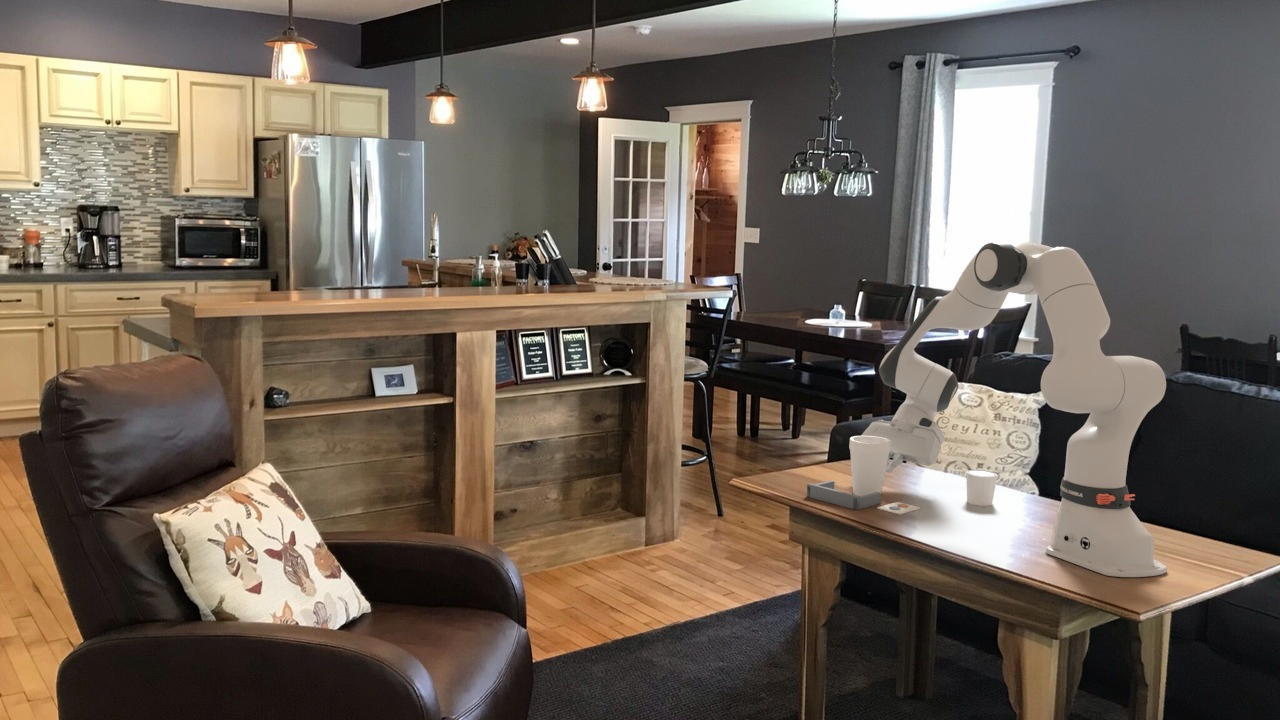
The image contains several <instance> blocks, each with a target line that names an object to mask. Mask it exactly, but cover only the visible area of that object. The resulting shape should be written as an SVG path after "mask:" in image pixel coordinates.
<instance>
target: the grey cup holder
mask: <svg viewBox="0 0 1280 720" xmlns="http://www.w3.org/2000/svg"><path fill="white" fill-rule="evenodd" d="M835 482H836V481H835V480H827V481H823V482H818V483H807V484H806V497H807V498H810V499H815V500H818V501H821V502H822V501H823V502H826V503H829V504H833V505H837V506H840V507H843V508H848V509H851V510H855V511H857V510H863V509H865V508H869V507H874V506H877V505H880V504H881V499H882V496H881V495H882V492H881V493H879V492H875V493H871V494H868V495H864V496H858V495H855V494H853V493H850V492H845V491H842V490H837V489H835Z"/></svg>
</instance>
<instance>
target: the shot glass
mask: <svg viewBox="0 0 1280 720" xmlns="http://www.w3.org/2000/svg"><path fill="white" fill-rule="evenodd" d="M997 480H998V474H997V473H995V472H992V471H990V470H989V471H988V470H984V469H983V470H980V469H971V470H967V471H966V502H967V503H968V504H970V505H973V506H979V507H982V506H983V507H984V506H985V507H987V506H992V505H993V502H994V494H995V491H996V483H997Z"/></svg>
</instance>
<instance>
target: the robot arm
mask: <svg viewBox="0 0 1280 720" xmlns="http://www.w3.org/2000/svg"><path fill="white" fill-rule="evenodd" d="M1009 293H1014V294H1019V295H1029V296H1030V295H1031V296H1032V295H1033V296H1034V295H1037V297H1038V299H1039V303H1040V306H1041V307H1042V311H1043V313H1044V316H1045V318H1046V322H1047V325H1048V328H1049V331H1050V334H1051V337H1052V342H1053V352H1052V353H1053V354H1052V358H1051V361H1050V362H1049V363H1048V365H1046V367H1045V369H1044V370H1043V372H1042V375H1041V379H1040V391H1041V394H1042V397H1043V399H1044V400H1045V402H1046V404H1047V405H1048V406H1049V407H1051V408H1052V409H1054V410H1059V411H1063V412H1067V413H1073V414H1089V416H1088V418H1087V419H1086V421H1085V423H1084V425H1083V426H1081V428H1080V429H1078V430H1077V431H1076V432H1074V433H1073V434H1071V436H1070V437H1069V439H1068V441H1067V446H1066V454H1065V455H1066V456H1065V468H1064V476H1063V477H1062V479H1061V483H1060V487H1059V488H1060V491H1059V492H1060V494H1059V495H1060V497H1061V501H1060V504H1059V507H1058V509H1057V511H1056V513H1055V518H1054V523H1053V528H1052V534H1051V537H1050V538H1051V539H1050V542H1049V545H1048V546H1046V549H1045V553H1046V554H1048V555H1050V556H1052V557H1056V558H1059V559H1060V560H1064V561H1066V562H1069V563H1072V564H1075V565H1077V566H1080V567H1083V568H1084V569H1085V568H1086V569H1088V570H1091V571H1094V572H1096V573H1098V574H1102V575H1104V576H1109V577H1118V578H1119V577H1120V578H1142V577H1143V578H1144V577H1145V578H1147V577H1153V576H1161V575H1165V574H1166V573H1167V572H1168V567H1167V566H1166V565H1165V564H1163V563H1162V562H1160V561H1158V560H1156V559H1155V544H1154V538H1153V536H1152V535H1151V533H1150V531H1149V530H1148V529H1146V527H1145V525H1143V523H1142V521H1140V519H1139V518H1138V517H1137V515H1136V514H1135V512H1134V511H1133V510H1132V508H1131V507H1130V506H1131V503H1132V502H1131V501H1135V498H1132V497H1136V495H1135V494H1134V493H1132V494H1130V493H1129V489H1128V485H1127V484H1126V482H1127V481H1126V480H1127V479H1126V477H1127V471H1128V463H1129V458H1130V457H1129V455H1130V450H1131V446H1132V443H1133V441H1134V438H1135V435H1136V433H1137V431H1138V429H1139V427H1140V425H1141V423H1142V421H1143V420H1144V419H1145V417H1146V415H1147V414H1148V412H1150V411H1151V410H1152V409H1153V408H1154V407H1156V405H1158V404H1159V403H1160V402H1161V401H1162V400H1163V398H1164V396H1165V393H1166V389H1167V380H1166V375H1165V372H1164V369H1162V367H1161V366H1160V364H1158V363H1157V362H1156V361H1153V360H1151V359H1148V358H1147V359H1146V358H1143V357H1139V356H1133V355H1105V353H1103V351H1102V349H1101V343H1100V342H1101V339H1102V338H1104V336H1105V335H1106V334H1107V333H1108V331H1109V329H1110V326H1111V317H1110V314H1109V312H1108V310H1107V308H1106V305H1105V302H1104V301H1103V298H1102V295H1101V293H1100V290H1099V288H1098V285H1097V283H1096V281H1095V278H1094V276H1093V275H1092V272H1091V271H1090V269H1089V268H1088V266H1087V264H1086V262H1085V261H1084V259H1083V258H1082V256H1081V255H1080V254H1079V253H1078V252H1077V251H1076V250H1075V249H1073V248H1071V247H1067V246H1055V245H1045V244H1042V243H1041V244H1040V243H1034V242H1029V241H1006V240H997V241H992V242H988V243H986V244H984V245H983V246H982V247H981V248H980V249H979V250H978V251H977V252H976V254H975V255H974V256H973V257H972V258H971V260H970V261H969V263H968V264H967V266H966V267H965V269H963V271H962V272H961V274H960V277H959V278H958V279H957V282H956V284H955V286H954V288H953V289H952V290H951V291H949V292H948V293H947V294H946V295H943V296H935V297H934V298H933V299H932V300H930V302H928V303H927V305H926V307H924V309H923V310H922V311H921V312H920V313H919V315H918V316H917V317H916V318H915V320H914V321H913V322H912V324H911V325H910V326H909V327H908V328H907V330H906V331H905V332H904V334H903V335H902V337H901V338H900V339H899V341H898V343H896V345H895V346H893V348H891V349H890V350H889V351H888V352H887V353H886V354H885V355H884V357H883V359H882V360H881V362H880V365H879V368H878V373H879V376H880V378H881V380H882V383H883V384H884V385H886V386H889V387H891V388H893V389H895V390H899V391H900V392H903V393H905V394H906V397H905V400H904V402H902V404H900V406H899V407H898V409H897V411H896V412H895V414H894V416H893V418H892V419H891V421H890V420H883V419H878V420H875V421H872V422H871V423H870V424H869V426H868V427H867V428H866V429H865V430H864V431H863V433H862V434H861V435H860V436H875V437H882V438H886V439H889V440H890V441H891V451H890V453H889V456H888V461H889V462H887V466H886V471H885V473H889V474H891V473H892V472H893V471H894V469H895V468H896V467H898V466H899V465H901V464H902V463H903V462H904V461H905V462H909V463H914V464H918V465H922V466H926V467H930V466H932V465H934V464H935V463H936V461H937V460H938V457H939V454H940V452H941V450H942V445H943V444H944V442H945V435H944V433H943V432H942V429H941V428H940V426H939V425H938V423H936V421H934V420H935V417H936V416H937V415H938V414H939V413H940V412H943V411H946V410H947V409H948V407H949V405H950V403H951V401H952V399H954V397H955V395H956V393H957V392H958V389H959V381H958V378H957V376H956V374H955V373H954V372H953V371H951V370H950V369H948V368H946V367H944V366H942V365H940V364H938V363H935V362H933V361H931V360H929V359H928V358H925V357H923V356H922V355H920V354H918V353H917V352H916V351H915V349H916V347H917V346H918V344H920V342H921V341H922V339H923V338H924V337H925V336H926V334H927V333H928V332H929V331H930V330H934V329H950V330H957V331H964V332H965V331H976V330H979V329H983V328H985V327H987V326H989V325H990V324H991V323H992V321H993V320H994V319H995V318H996V317H997V314H998V313H999V312H1000V310H1001V308H1002V307H1003V304H1004V303H1005V301H1006V298H1007V296H1008V295H1009ZM890 458H891V459H892V460H891V461H890Z"/></svg>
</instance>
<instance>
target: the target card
mask: <svg viewBox="0 0 1280 720" xmlns="http://www.w3.org/2000/svg"><path fill="white" fill-rule="evenodd" d="M876 509H878V510H881V511H885V512H888V513H893V514H896V515H899V516H900V515H905V514H908V513H911V512H914V511H918V510H921V507H920V506H916V505H915V506H914V505H912V504H908V503H904V502H900V501H896V502H892V503H888V504H885V505H881V506H877V507H876Z"/></svg>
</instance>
